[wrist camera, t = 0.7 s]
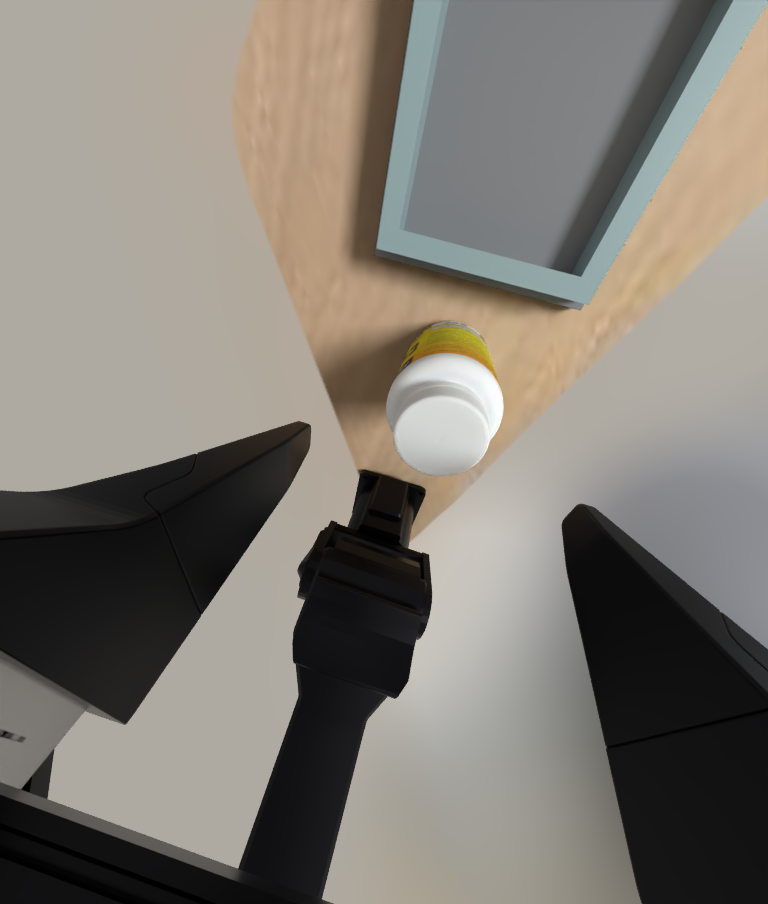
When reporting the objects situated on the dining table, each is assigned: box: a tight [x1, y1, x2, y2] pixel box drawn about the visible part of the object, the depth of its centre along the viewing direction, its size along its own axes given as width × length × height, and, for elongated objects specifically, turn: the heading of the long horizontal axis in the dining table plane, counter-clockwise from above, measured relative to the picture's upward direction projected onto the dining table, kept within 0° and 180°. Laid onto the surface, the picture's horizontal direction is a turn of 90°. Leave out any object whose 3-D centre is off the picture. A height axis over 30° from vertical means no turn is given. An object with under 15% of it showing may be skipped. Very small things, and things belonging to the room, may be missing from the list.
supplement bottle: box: [386, 321, 504, 476], centre depth 16 cm, size 6×6×10 cm
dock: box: [374, 0, 768, 310], centre depth 12 cm, size 12×12×2 cm
